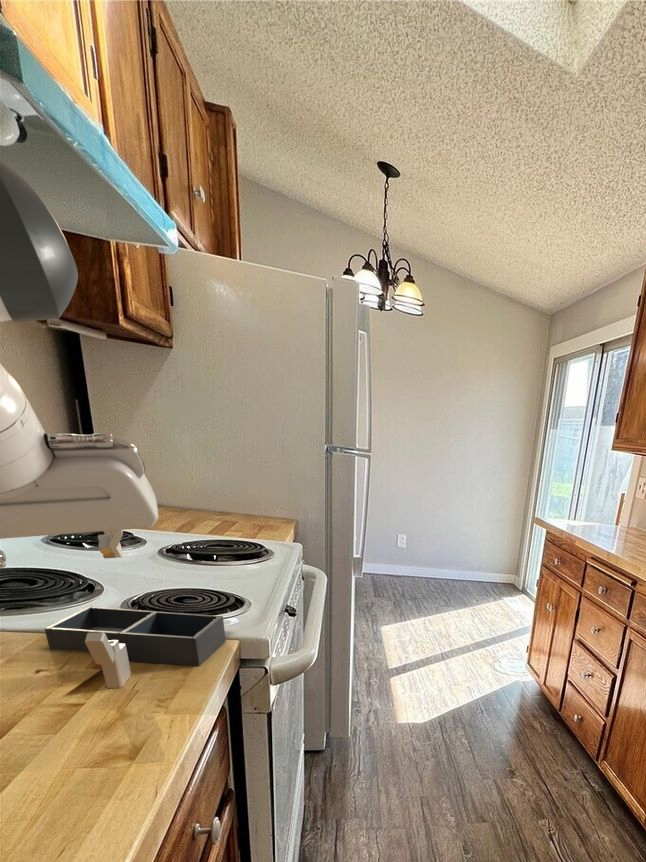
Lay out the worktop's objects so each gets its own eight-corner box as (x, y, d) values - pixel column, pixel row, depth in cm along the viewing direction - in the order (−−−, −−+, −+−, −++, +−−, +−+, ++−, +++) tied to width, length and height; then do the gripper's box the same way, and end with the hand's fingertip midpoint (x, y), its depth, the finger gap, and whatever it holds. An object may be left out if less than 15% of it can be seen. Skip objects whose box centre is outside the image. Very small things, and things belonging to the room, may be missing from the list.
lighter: (116, 674, 72) (104, 615, 69) (131, 673, 72) (120, 615, 69) (97, 699, 66) (83, 636, 63) (114, 698, 66) (101, 636, 63)
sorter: (51, 657, 74) (43, 628, 73) (94, 632, 83) (88, 606, 81) (199, 666, 77) (195, 638, 75) (225, 641, 85) (223, 616, 84)
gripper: (130, 409, 47) (174, 525, 59) (-201, 410, 40) (-75, 543, 52) (134, 460, 45) (180, 571, 57) (-217, 473, 37) (-80, 597, 49)
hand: (56, 558), depth 54 cm, fingers open, 8 cm apart
